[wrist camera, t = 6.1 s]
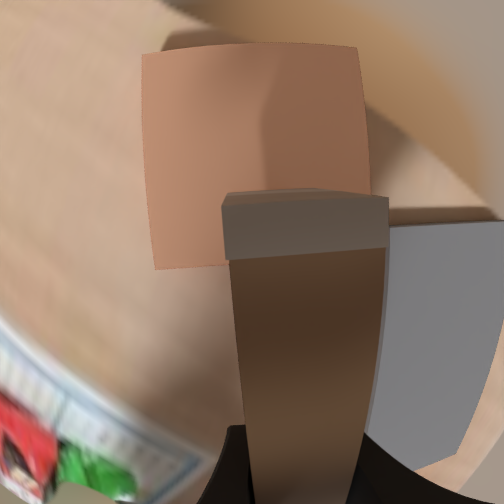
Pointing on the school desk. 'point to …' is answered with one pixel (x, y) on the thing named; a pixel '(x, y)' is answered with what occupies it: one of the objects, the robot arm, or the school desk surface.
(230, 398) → the school desk surface
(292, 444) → the brown block
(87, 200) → the school desk surface
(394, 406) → the mat
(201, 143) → the tile
